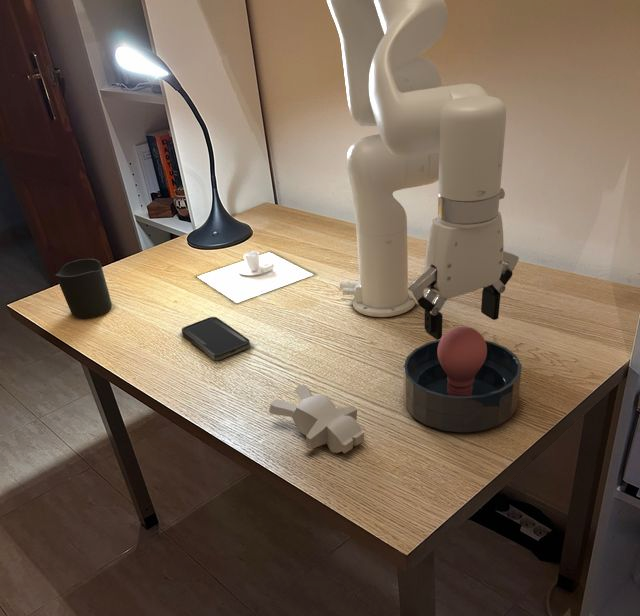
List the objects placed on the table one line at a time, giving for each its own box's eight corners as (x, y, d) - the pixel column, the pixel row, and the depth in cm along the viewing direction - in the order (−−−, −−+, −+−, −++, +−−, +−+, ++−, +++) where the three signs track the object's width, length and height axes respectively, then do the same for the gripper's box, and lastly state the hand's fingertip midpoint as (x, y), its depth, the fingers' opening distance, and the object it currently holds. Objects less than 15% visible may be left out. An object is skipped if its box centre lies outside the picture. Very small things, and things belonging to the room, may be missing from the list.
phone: (214, 315, 127) (251, 341, 117) (215, 320, 128) (252, 346, 118) (178, 329, 124) (214, 356, 114) (180, 334, 125) (215, 361, 114)
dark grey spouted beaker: (122, 307, 138) (108, 264, 132) (84, 324, 133) (68, 280, 127) (100, 297, 143) (86, 255, 137) (62, 314, 138) (46, 271, 132)
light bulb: (473, 416, 93) (477, 345, 86) (429, 405, 97) (429, 336, 90) (490, 392, 98) (495, 322, 91) (447, 382, 101) (449, 314, 94)
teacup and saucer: (280, 270, 146) (277, 253, 143) (250, 281, 143) (247, 264, 140) (261, 260, 152) (258, 244, 149) (232, 270, 149) (229, 254, 146)
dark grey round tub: (394, 428, 94) (393, 392, 90) (415, 368, 106) (415, 334, 103) (513, 440, 89) (517, 403, 85) (520, 376, 102) (524, 341, 98)
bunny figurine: (330, 446, 85) (260, 396, 94) (330, 473, 89) (263, 422, 97) (378, 415, 90) (307, 370, 98) (376, 441, 93) (308, 395, 102)
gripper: (504, 184, 85) (494, 299, 96) (394, 214, 80) (396, 332, 91) (542, 198, 80) (527, 319, 90) (427, 231, 75) (425, 355, 85)
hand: (461, 325), depth 90 cm, fingers open, 9 cm apart
